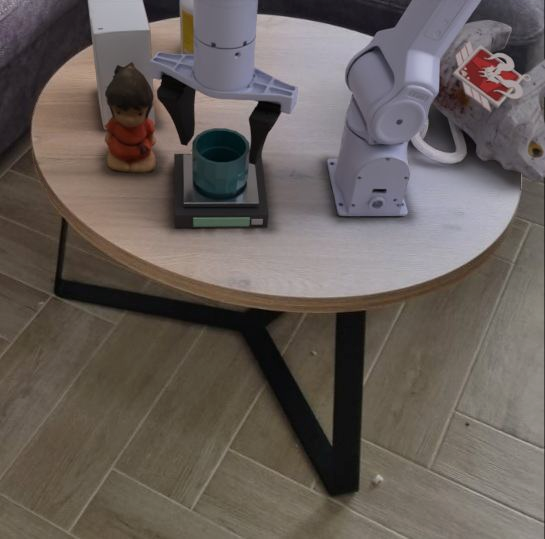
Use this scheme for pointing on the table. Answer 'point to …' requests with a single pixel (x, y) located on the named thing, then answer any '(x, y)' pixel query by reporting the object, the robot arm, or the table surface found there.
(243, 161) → the cup
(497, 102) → the decorative emblem
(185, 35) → the pill bottle
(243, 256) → the table surface
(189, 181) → the pan
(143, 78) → the figurine
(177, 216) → the scale base
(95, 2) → the small box
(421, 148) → the white looped part
